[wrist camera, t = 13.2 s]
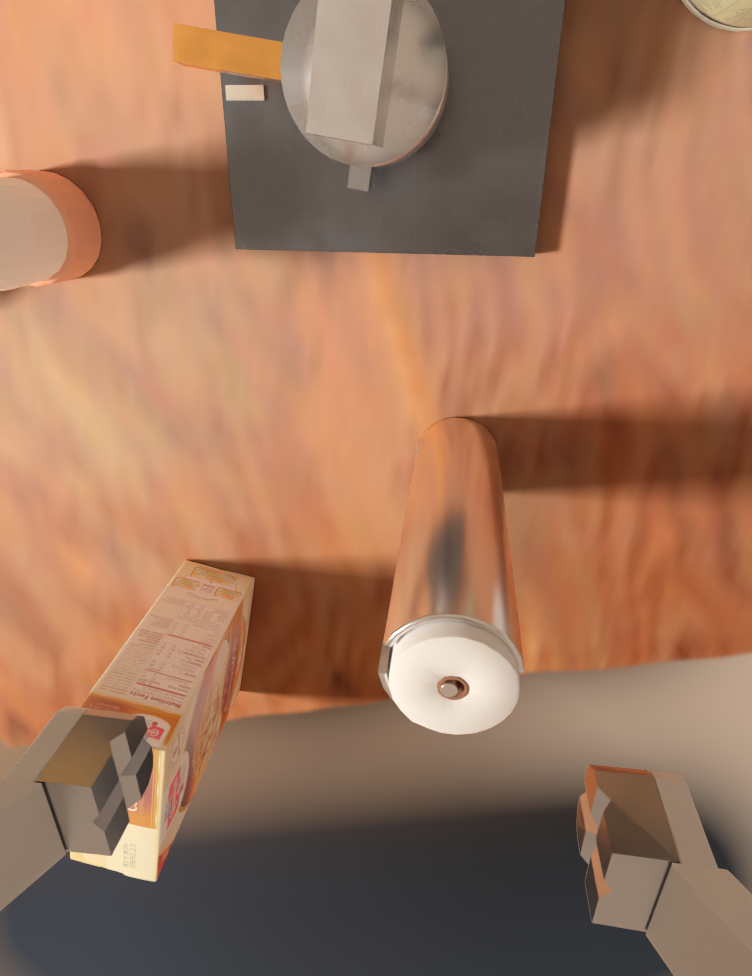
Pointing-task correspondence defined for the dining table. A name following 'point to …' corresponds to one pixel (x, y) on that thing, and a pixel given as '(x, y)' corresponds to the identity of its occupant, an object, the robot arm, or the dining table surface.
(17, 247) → the pepper shaker
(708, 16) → the coffee can
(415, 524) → the thermos flask
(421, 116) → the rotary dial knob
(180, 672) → the coffeecake box
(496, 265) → the dining table surface
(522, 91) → the post plate
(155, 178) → the dining table surface
